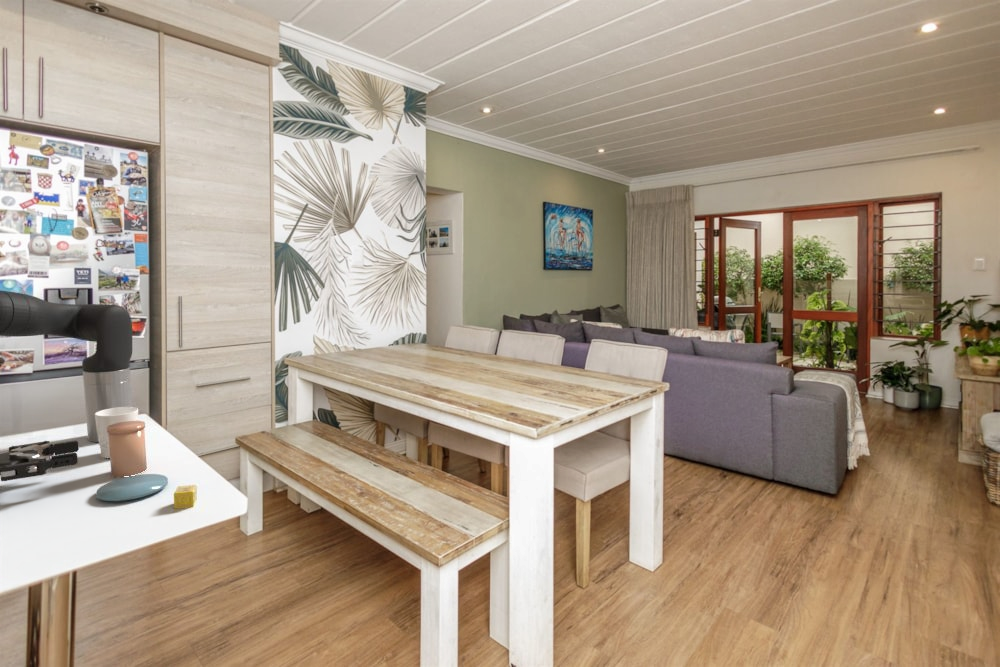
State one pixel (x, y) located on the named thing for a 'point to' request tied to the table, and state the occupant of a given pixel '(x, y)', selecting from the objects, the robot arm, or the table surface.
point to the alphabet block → (185, 496)
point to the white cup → (109, 418)
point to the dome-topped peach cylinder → (127, 448)
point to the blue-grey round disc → (132, 487)
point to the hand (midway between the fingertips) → (77, 451)
